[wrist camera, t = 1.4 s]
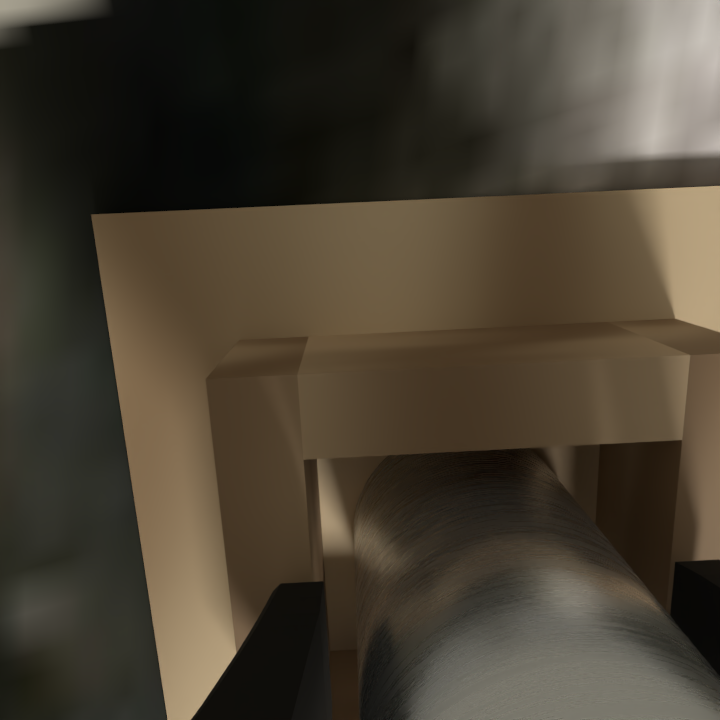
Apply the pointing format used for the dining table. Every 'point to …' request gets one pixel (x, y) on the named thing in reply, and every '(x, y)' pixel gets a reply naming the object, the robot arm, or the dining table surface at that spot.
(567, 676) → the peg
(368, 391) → the pocket board
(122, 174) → the dining table surface
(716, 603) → the robot arm
